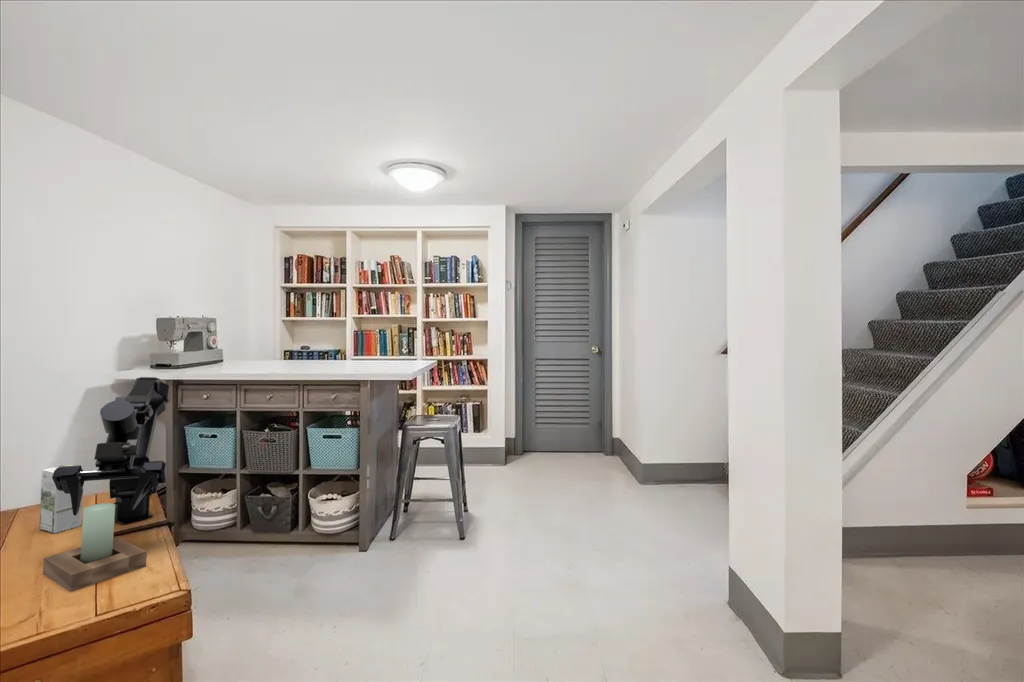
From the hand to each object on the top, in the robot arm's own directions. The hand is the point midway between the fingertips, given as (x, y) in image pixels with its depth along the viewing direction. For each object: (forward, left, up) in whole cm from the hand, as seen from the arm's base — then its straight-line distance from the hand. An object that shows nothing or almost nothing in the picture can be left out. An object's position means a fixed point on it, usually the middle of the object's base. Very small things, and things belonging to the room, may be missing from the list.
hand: (103, 511), depth 97 cm
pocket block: (+2, +3, -11) cm, 11 cm away
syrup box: (-3, -28, -11) cm, 30 cm away
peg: (+2, +3, -10) cm, 11 cm away
